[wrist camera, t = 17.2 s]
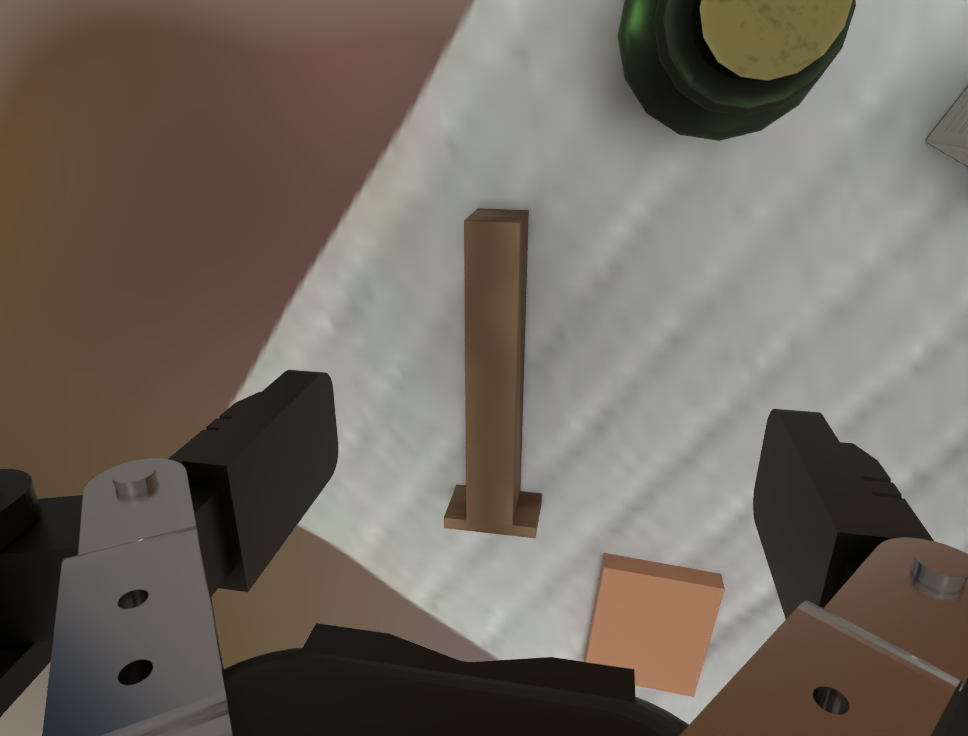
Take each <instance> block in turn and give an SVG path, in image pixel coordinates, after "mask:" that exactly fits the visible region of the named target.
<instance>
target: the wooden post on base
mask: <svg viewBox="0 0 968 736" xmlns="http://www.w3.org/2000/svg"><path fill="white" fill-rule="evenodd" d="M528 215H529V210H504V209H477V210H476V211H475V212H474V213H472V214H471V215H470V216H469V217H468V218H467V219H466V220H465V221H464V253H465V389H466V486H464V485H456V488H455V490H454V493H453V496H452V498H451V501H450V503H449V506H448V508H447V511H446V513H445V516H444V528H450V529H458V530H467V531H476V532H485V533H494V534H503V535H511V536H520V537H529V538H536V532H537V526H538V521H539V515H540V509H541V502H542V494H540V493H531V492H521V491H520V483H521V450H522V416H523V383H524V349H525V316H526V282H527V249H528Z"/></svg>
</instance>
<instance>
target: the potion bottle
mask: <svg viewBox="0 0 968 736" xmlns="http://www.w3.org/2000/svg"><path fill="white" fill-rule="evenodd" d="M855 7H856V2H855V0H625V1H624V6H623V11H622V16H621V22H620V27H619V32H618V41H619V47H620V53H621V59H622V65H623V70H624V76H625V80H626V81H627V83H628V85H629V86H630V88H631V89H632V91H633V92H634V94H635V96H636V97H637V99H638V100H639V102H640V103H641V105H642V107H643V108H644V110H645V111H646V113H647V114H649V115H650V116H652V117H653V118H655V119H656V120H658V121H660V122H661V123H663V124H664V125H666V126H667V127H669V128H670V129H672V130H673V131H675V132H676V133H678V134H680V135H686V136H693V137H699V138H706V139H712V140H718V141H720V140H724V139H728V138H732V137H736V136H740V135H744V134H748V133H753V132H757V131H761V130H762V129H764V128H765V127H767V126H768V125H770V124H771V123H773V122H774V121H776V120H777V119H779V118H780V117H782V116H783V115H785V114H786V113H788V112H789V111H791V110H792V109H794V108H795V107H797V106H798V105H799V104H800V103H801V102H802V100H803V99H804V98H805V96H806V95H807V94H808V92H809V91H810V90H811V88H812V87H813V86H814V84H815V83H816V82H817V81H818V79H819V78H820V77H821V75H822V74H823V73H824V71H825V70H826V69H827V67H828V66H829V65H830V63H831V62H832V61H833V59H834V58H835V57H836V55H837V54H838V53H839V51H840V50H841V49H842V47H843V44H844V41H845V38H846V35H847V31H848V28H849V25H850V22H851V19H852V16H853V13H854V10H855Z"/></svg>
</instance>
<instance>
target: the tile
mask: <svg viewBox="0 0 968 736" xmlns="http://www.w3.org/2000/svg"><path fill="white" fill-rule="evenodd" d="M723 593H724V584H723V580H722V575H721V574H717V573H712V572H706V571H701V570H695V569H690V568H684V567H678V566H673V565H667V564H662V563H656V562H651V561H645V560H640V559H634V558H629V557H623V556H618V555H612V554H606V553H604V557H603V562H602V567H601V573H600V578H599V583H598V588H597V594H596V599H595V604H594V609H593V615H592V620H591V625H590V631H589V636H588V641H587V646H586V652H585V657H584V662H588V663H595V664H602V665H609V666H616V667H623V668H629V669H634V671H635V685H637V686H642V687H647V688H652V689H657V690H662V691H667V692H672V693H677V694H682V695H687V696H692V697H694V694H695V691H696V687H697V684H698V680H699V677H700V673H701V670H702V666H703V663H704V659H705V656H706V652H707V649H708V645H709V642H710V638H711V635H712V631H713V628H714V624H715V621H716V617H717V614H718V610H719V607H720V603H721V600H722V596H723Z"/></svg>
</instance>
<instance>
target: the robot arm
mask: <svg viewBox="0 0 968 736" xmlns="http://www.w3.org/2000/svg"><path fill="white" fill-rule="evenodd" d="M337 459H338V437H337V427H336V416H335V405H334V394H333V385H332V381H331V378H330V376H329V375H328V374H327V373H323V372H310V371H297V370H287V371H286V372H284V373H283V374H282V375H281V376H280V377H278V378H277V379H276V380H275V381H274V382H273V383H272V384H270V385H269V386H268V387H267V388H266V389H265V390H263V391H262V392H258V393H256V394H254V395H252V396H249V397H247V398H245V399H243V400H240V401H238V402H236V403H235V404H233V405H232V406H231V407H230V408H229V409H227V410H226V411H225V412H224V413H223V414H221V415H220V418H219V419H215V420H214V421H213V422H212V423H211V424H209V425H208V426H207V428H206V430H202V431H201V432H200V433H199V434H198V435H196V436H195V437H194V438H193V439H191V440H190V441H189V442H188V443H187V444H185V445H184V446H183V447H182V448H181V449H179V450H178V451H177V452H176V453H175V454H173V455H172V456H171V457H170V458H169V459H160V458H159V459H158V458H155V459H143V460H137V461H132V462H128V463H125V464H122V465H118V466H116V467H114V468H111V469H109V470H107V471H105V472H103V473H101V474H100V475H98V476H97V477H95V478H94V479H93V480H91V482H89V484H88V485H87V486H86V488H85V489H84V492H83V495H81V496H69V497H56V498H45V499H37V496H36V492H35V489H34V486H33V482H32V479H31V476H29V475H28V474H27V473H26V472H24V471H20V470H14V469H0V717H1V716H2V715H3V713H4V712H5V711H6V710H7V709H8V708H9V706H11V704H13V702H14V701H15V700H16V699H17V698H18V697H19V696H20V695H21V694H22V692H23V691H24V690H25V689H26V688H27V687H28V686H29V685H30V684H31V683H32V681H33V680H34V679H35V678H36V677H37V676H38V675H39V674H40V673H41V671H42V670H43V669H44V668H45V667H46V666H47V665H48V664H49V663H50V662H51V663H50V672H49V680H48V690H47V698H46V707H45V716H44V726H43V733H42V736H968V554H966V553H964V552H962V551H960V550H958V549H956V548H953V547H950V546H947V545H945V544H941V543H938V542H934V540H933V539H932V537H931V536H930V535H929V533H928V532H927V530H926V529H925V527H924V526H923V525H922V523H921V522H920V520H919V519H918V517H917V516H916V515H915V513H914V512H913V510H912V509H911V507H910V506H909V505H908V503H907V502H906V500H905V499H902V498H901V496H902V495H901V493H900V492H899V490H898V489H897V487H896V486H895V485H894V483H891V479H890V477H889V476H888V475H887V473H886V472H885V470H884V469H883V467H882V466H881V465H880V463H879V462H878V460H876V459H875V458H873V457H872V456H870V455H869V454H868V453H866V452H865V451H863V450H862V449H860V448H859V447H857V446H856V445H855V444H853V443H842V442H839V440H838V439H837V437H836V436H835V434H834V432H833V431H832V429H831V428H830V426H829V425H828V423H827V421H826V420H825V418H824V417H823V415H822V414H821V413H819V412H807V411H794V410H781V409H773V410H772V411H771V412H770V414H769V417H768V420H767V425H766V430H765V435H764V440H763V445H762V451H761V456H760V461H759V467H758V472H757V477H756V482H755V488H754V498H753V510H754V520H755V524H756V527H757V530H758V534H759V537H760V540H761V543H762V546H763V549H764V552H765V556H766V559H767V562H768V565H769V568H770V571H771V574H772V577H773V581H774V584H775V587H776V590H777V593H778V596H779V599H780V603H781V606H782V609H783V612H784V615H785V618H786V620H785V621H784V622H783V624H782V625H781V626H780V627H779V628H778V629H777V630H776V631H775V632H774V633H773V634H772V636H771V637H770V638H769V639H768V640H767V641H766V642H765V643H764V644H763V645H762V646H761V647H760V649H759V650H758V651H757V652H756V653H755V654H754V655H753V656H752V657H751V658H750V659H749V660H748V662H747V663H746V664H745V665H744V666H743V667H742V668H741V669H740V670H739V671H738V672H737V674H736V675H735V676H734V677H733V678H732V679H731V680H730V681H729V682H728V683H727V684H726V685H725V687H724V688H723V689H722V690H721V691H720V692H719V693H718V694H717V695H716V696H715V697H714V699H713V700H712V701H711V702H710V703H709V704H708V705H707V706H706V707H705V708H704V709H703V710H702V712H701V713H700V714H699V715H698V716H697V717H696V718H695V719H694V720H693V721H692V722H691V724H690V725H689V724H687V723H686V722H684V721H682V720H681V719H679V718H678V717H676V716H674V715H673V714H671V713H669V712H668V711H666V710H664V709H662V708H660V707H658V706H656V705H654V704H652V703H650V702H647V701H645V700H642V699H640V698H637V697H635V671H634V669H629V668H623V667H616V666H609V665H602V664H595V663H588V662H581V661H574V660H567V659H560V658H553V657H548V658H532V659H516V660H500V661H484V662H463V661H459V660H456V659H453V658H451V657H448V656H446V655H443V654H441V653H438V652H435V651H433V650H430V649H427V648H425V647H422V646H420V645H417V644H415V643H412V642H409V641H406V640H404V639H401V638H399V637H396V636H394V635H391V634H387V633H380V632H372V631H366V630H359V629H352V628H345V627H338V626H331V625H324V624H316V625H315V627H314V629H313V630H312V632H311V634H310V636H309V638H308V639H307V641H306V643H305V645H304V646H303V648H293V649H286V650H281V651H275V652H271V653H268V654H264V655H260V656H256V657H253V658H250V659H248V660H245V661H242V662H239V663H237V664H235V665H232V666H230V667H228V668H226V669H225V668H224V662H223V657H222V652H221V647H220V641H219V636H218V630H217V625H216V620H215V614H214V609H213V604H212V599H211V597H212V595H213V594H214V593H215V591H216V590H217V589H218V588H222V589H230V590H237V591H245V592H248V591H249V590H250V588H251V587H252V586H253V584H254V583H255V582H256V580H257V579H258V578H259V576H260V575H261V573H262V572H263V571H264V569H265V568H266V566H267V565H268V564H269V562H270V561H271V560H272V558H273V557H274V555H275V554H276V553H277V551H278V550H279V549H280V547H281V546H282V545H283V543H284V542H285V540H286V539H287V538H288V536H289V535H290V534H291V532H292V531H293V529H294V528H295V527H296V525H297V524H298V523H299V521H300V520H301V518H302V517H303V516H304V514H305V513H306V512H307V510H308V509H309V507H310V506H311V505H312V503H313V502H314V501H315V499H316V498H317V497H318V495H319V494H320V492H321V491H322V490H323V488H324V487H325V486H326V484H327V483H328V481H329V480H330V479H331V477H332V475H333V473H334V471H335V468H336V464H337Z"/></svg>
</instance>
